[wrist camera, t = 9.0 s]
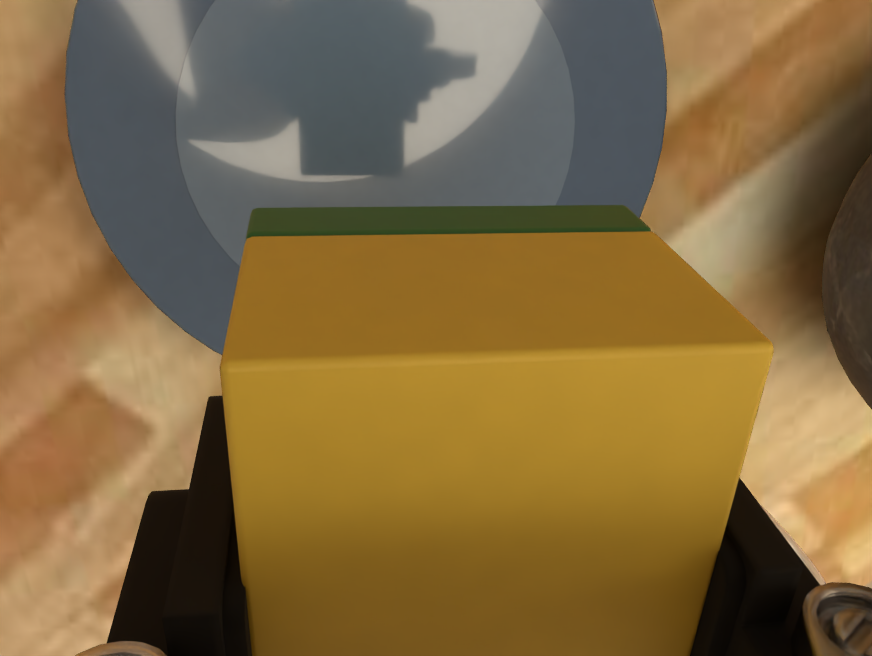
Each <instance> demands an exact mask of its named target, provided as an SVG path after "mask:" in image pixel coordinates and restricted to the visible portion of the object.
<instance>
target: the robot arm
mask: <svg viewBox="0 0 872 656" xmlns="http://www.w3.org/2000/svg"><path fill="white" fill-rule="evenodd" d="M75 656H252V649H251V639H250V629H249V619H248V609H247V599H246V589H245V586H243V584H242V581H241V572H240V562H239V552H238V543H237V533H236V523H235V513H234V503H233V494H232V484H231V474H230V464H229V454H228V445H227V435H226V425H225V415H224V405H223V396H210V397H209V398H208V402H207V407H206V411H205V416H204V421H203V425H202V430H201V435H200V440H199V444H198V449H197V454H196V459H195V463H194V468H193V473H192V478H191V482H190V487H189V489H186V490H168V491H152V492H151V493H150V494H149V496H148V499H147V501H146V504H145V508H144V511H143V515H142V519H141V522H140V526H139V529H138V533H137V536H136V540H135V544H134V547H133V551H132V554H131V558H130V562H129V565H128V569H127V572H126V576H125V580H124V583H123V587H122V590H121V594H120V597H119V601H118V605H117V608H116V612H115V615H114V619H113V623H112V626H111V630H110V633H109V637H108V640H107V644H101V645H98V646H96V647H93V648H91V649H88V650H86V651H83V652H81V653H78V654H77V655H75ZM690 656H872V589H871V588H869V587H865V586H860V585H856V584H852V583H834V582H831V583H827V584H824V585H820V584H819V583H818V581H817V580H816V579H815V577H814V576H813V575H812V573H811V572H810V571H809V569H808V568H807V567H806V565H805V564H804V563H803V561H802V560H801V559H800V557H799V556H798V555H797V553H796V552H795V551H794V549H793V548H792V547H791V545H790V544H789V543H788V541H787V540H786V539H785V537H784V536H783V535H782V533H781V532H780V531H779V529H778V528H777V527H776V526H775V524H774V523H773V522H772V520H771V519H770V518H769V516H768V515H767V514H766V512H765V511H764V510H763V508H762V507H761V506H760V504H759V503H758V502H757V500H756V499H755V498H754V496H753V495H752V494H751V492H750V491H749V490H748V488H747V487H746V486H745V484H744V483H743V482H742V480H741V479H740V478H739V480H738V484H737V488H736V491H735V495H734V499H733V502H732V506H731V509H730V513H729V517H728V520H727V524H726V528H725V531H724V535H723V539H722V542H721V546H720V550H719V551H718V554H717V558H716V562H715V565H714V569H713V573H712V576H711V580H710V584H709V587H708V591H707V595H706V598H705V602H704V606H703V609H702V613H701V617H700V620H699V624H698V628H697V631H696V635H695V639H694V642H693V646H692V650H691V653H690Z"/></svg>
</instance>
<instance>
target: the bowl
mask: <svg viewBox="0 0 872 656" xmlns="http://www.w3.org/2000/svg"><path fill="white" fill-rule="evenodd" d="M822 302H823V308H824V315H825V321H826V326H827V331H828V334H829V336H830V339H831V342H832V344H833V347H834V349H835V352H836V354H837V357H838V359H839V361H840V363H841V365H842V367H843V369H844V370H845V372H846V374H847V376H848V378H849V379H850V381H851V383H852V384H853V385H854V387H855V388H856V389H857V391H858V392H859V394H860V395H861V396H862V398H863V399H864V400H865V402H866V403H867V404H868V405H869V407H870V408H871V409H872V153H871V155H870V156H869V157H868V159H867V160H866V162H865V163H864V164H863V166H862V167H861V169H860V170H859V172H858V173H857V175H856V177H855V178H854V180H853V182H852V184H851V186H850V188H849V189H848V191H847V193H846V195H845V198H844V200H843V202H842V204H841V207H840V209H839V211H838V214H837V215H836V219H835V220H834V222H833V225H832V228H831V230H830V233H829V236H828V240H827V243H826V249H825V254H824V261H823V273H822Z"/></svg>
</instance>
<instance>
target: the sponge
mask: <svg viewBox="0 0 872 656" xmlns="http://www.w3.org/2000/svg"><path fill="white" fill-rule="evenodd" d="M773 352H774V351H773V345H772V342H771V341H770V340H769V339H768V338H767V337H765V336H764V335H763V334H762V333H761V332H760V331H759V330H758V329H757V328H756V327H755V326H754V325H753V324H752V323H750V322H749V321H748V320H747V319H746V318H745V317H744V316H743V315H742V314H741V313H740V312H739V311H738V310H737V309H735V308H734V307H733V306H732V305H731V304H730V303H729V302H728V301H727V300H726V299H725V298H724V297H723V296H722V295H721V294H719V293H718V292H717V291H716V290H715V289H714V288H713V287H712V286H711V285H710V284H709V283H708V282H707V281H706V280H704V279H703V278H702V277H701V276H700V275H699V274H698V273H697V272H696V271H695V270H694V269H693V268H692V267H691V266H689V265H688V264H687V263H686V262H685V261H684V260H683V259H682V258H681V257H680V256H679V255H678V254H677V253H676V252H674V251H673V250H672V249H671V248H670V247H669V246H668V245H667V244H666V243H665V242H664V241H663V240H662V239H661V238H660V237H658V236H657V235H656V234H655V233H653V232H651V231H650V228H649V227H648V226H647V225H646V224H645V223H644V222H643V221H642V220H641V219H639V218H638V217H637V216H636V215H635V214H634V213H633V212H632V211H631V210H630V209H629V208H628V207H626V206H624V205H547V206H419V207H291V208H255V209H253V210H252V212H251V215H250V220H249V225H248V230H247V235H246V242H245V245H244V250H243V255H242V260H241V265H240V270H239V275H238V280H237V285H236V290H235V295H234V300H233V305H232V310H231V315H230V320H229V325H228V330H227V335H226V340H225V345H224V349H223V354H222V359H221V364H220V376H221V386H222V396H223V405H224V415H225V425H226V435H227V445H228V454H229V464H230V474H231V484H232V494H233V503H234V513H235V523H236V533H237V543H238V552H239V562H240V572H241V581H242V584H243V586H245V589H246V599H247V609H248V619H249V629H250V639H251V649H252V656H690V653H691V650H692V646H693V642H694V639H695V635H696V631H697V628H698V624H699V620H700V617H701V613H702V609H703V606H704V602H705V598H706V595H707V591H708V587H709V584H710V580H711V576H712V573H713V569H714V565H715V562H716V558H717V554H718V551H719V550H720V546H721V542H722V539H723V535H724V531H725V528H726V524H727V520H728V517H729V513H730V509H731V506H732V502H733V499H734V495H735V491H736V488H737V484H738V480H739V477H740V473H741V469H742V466H743V462H744V458H745V455H746V451H747V447H748V444H749V440H750V436H751V433H752V429H753V425H754V422H755V418H756V414H757V411H758V407H759V403H760V400H761V396H762V393H763V389H764V385H765V382H766V378H767V374H768V371H769V367H770V363H771V360H772V356H773Z"/></svg>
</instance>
